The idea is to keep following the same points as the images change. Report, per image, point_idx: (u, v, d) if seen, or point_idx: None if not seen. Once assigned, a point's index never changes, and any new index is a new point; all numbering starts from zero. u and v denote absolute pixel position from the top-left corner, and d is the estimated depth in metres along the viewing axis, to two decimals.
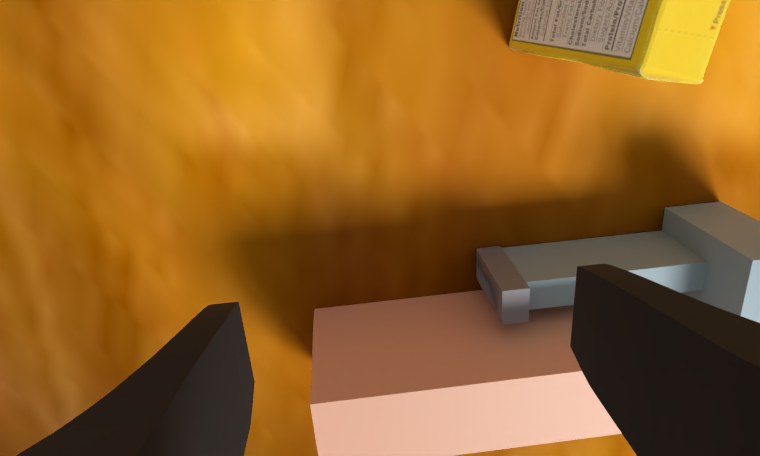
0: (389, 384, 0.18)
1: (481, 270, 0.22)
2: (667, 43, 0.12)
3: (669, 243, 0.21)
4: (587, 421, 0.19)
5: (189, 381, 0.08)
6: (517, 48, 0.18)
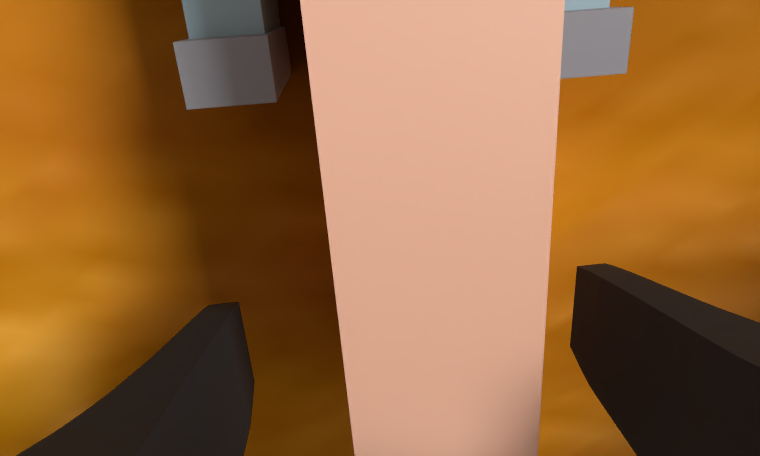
0: None
1: None
2: None
3: None
4: None
5: (189, 381, 0.08)
6: None
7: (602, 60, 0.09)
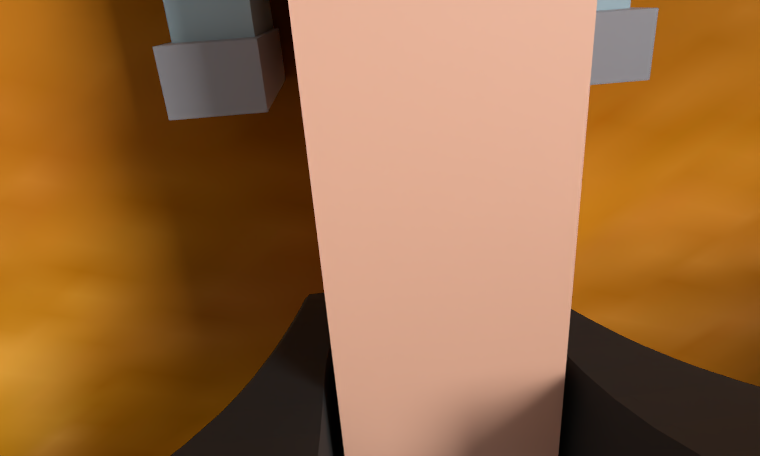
0: None
1: None
2: None
3: None
4: None
5: (327, 366, 0.08)
6: None
7: (623, 66, 0.08)
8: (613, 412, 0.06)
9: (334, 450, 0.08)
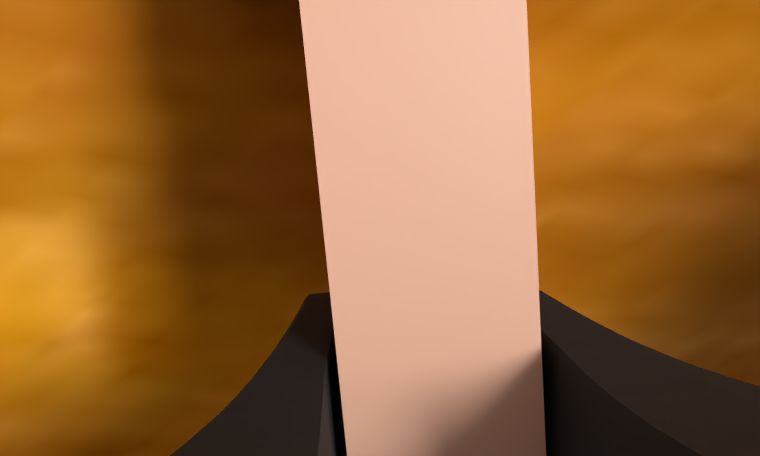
0: None
1: None
2: None
3: None
4: None
5: (327, 365, 0.08)
6: None
7: None
8: (614, 412, 0.06)
9: (334, 450, 0.08)
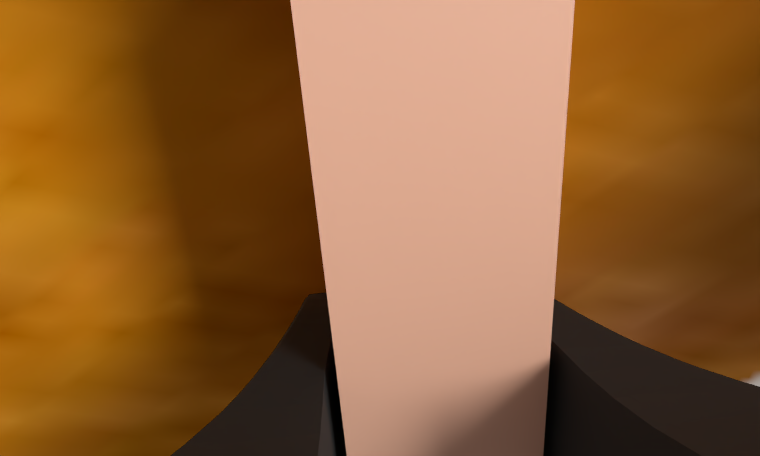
0: None
1: None
2: None
3: None
4: None
5: (327, 366, 0.08)
6: None
7: None
8: (613, 412, 0.06)
9: (334, 450, 0.08)
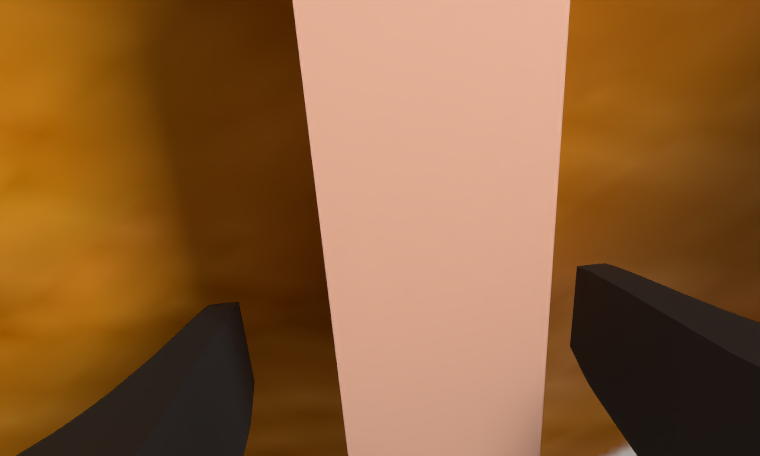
0: None
1: None
2: None
3: None
4: None
5: (189, 381, 0.08)
6: None
7: None
8: None
9: None
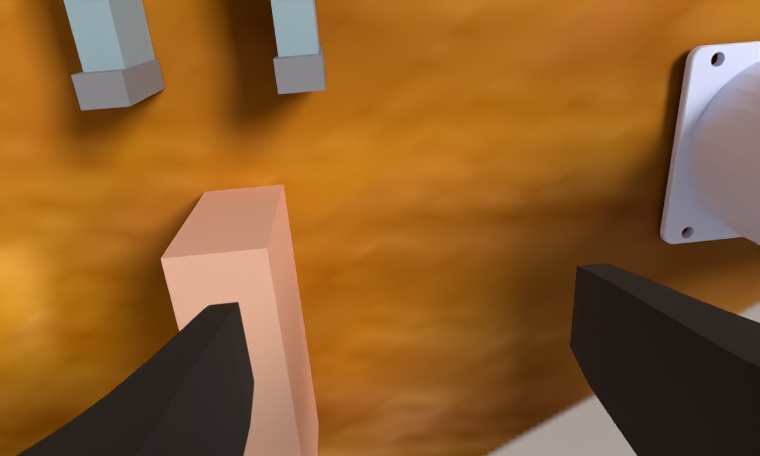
0: None
1: None
2: None
3: None
4: (254, 327, 0.16)
5: (189, 381, 0.08)
6: None
7: (309, 83, 0.16)
8: None
9: None
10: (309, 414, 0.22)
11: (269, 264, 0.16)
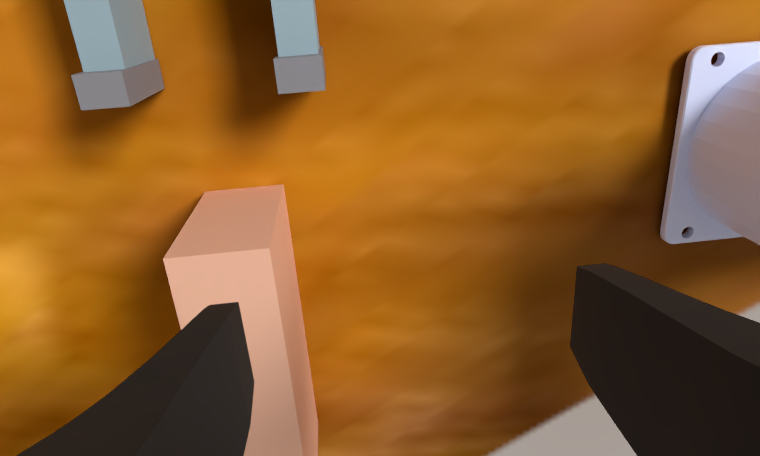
0: None
1: None
2: None
3: None
4: (256, 327, 0.16)
5: (189, 381, 0.08)
6: None
7: (309, 83, 0.16)
8: None
9: None
10: (310, 414, 0.22)
11: (272, 264, 0.16)
